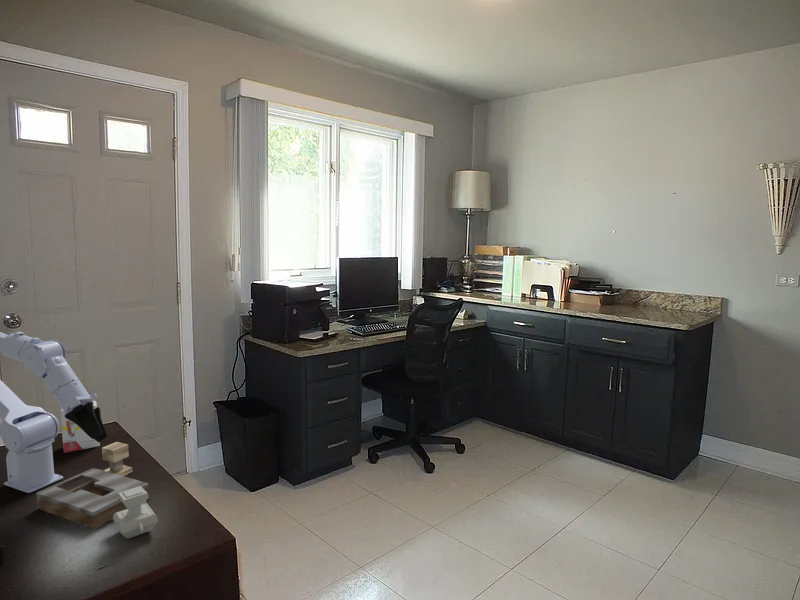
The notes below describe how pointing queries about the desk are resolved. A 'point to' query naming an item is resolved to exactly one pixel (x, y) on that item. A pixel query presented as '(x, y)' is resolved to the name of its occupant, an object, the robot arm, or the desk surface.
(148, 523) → the stamp
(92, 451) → the desk surface
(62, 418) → the ink box
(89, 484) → the keyhole base
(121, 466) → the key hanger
